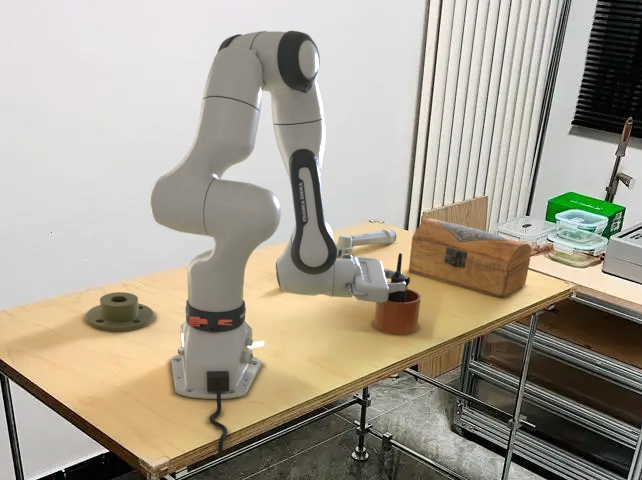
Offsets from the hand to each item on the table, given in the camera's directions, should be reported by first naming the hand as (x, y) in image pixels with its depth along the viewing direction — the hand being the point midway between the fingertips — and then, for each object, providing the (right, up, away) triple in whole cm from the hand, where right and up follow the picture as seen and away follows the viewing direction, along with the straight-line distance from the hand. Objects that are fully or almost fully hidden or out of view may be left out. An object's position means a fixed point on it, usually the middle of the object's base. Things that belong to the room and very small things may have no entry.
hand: (403, 281), depth 189 cm
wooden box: (+20, +6, +38) cm, 43 cm away
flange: (-66, -9, -2) cm, 67 cm away
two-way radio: (-1, -8, +4) cm, 9 cm away
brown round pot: (-2, -10, +6) cm, 12 cm away
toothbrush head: (-8, +17, +54) cm, 57 cm away
